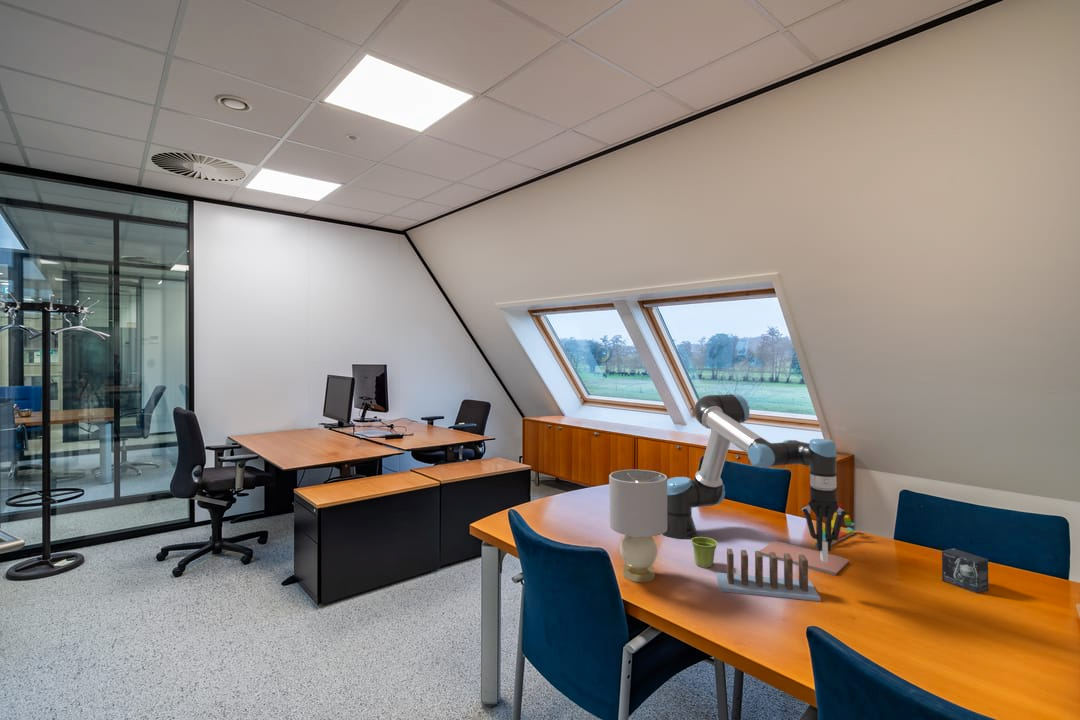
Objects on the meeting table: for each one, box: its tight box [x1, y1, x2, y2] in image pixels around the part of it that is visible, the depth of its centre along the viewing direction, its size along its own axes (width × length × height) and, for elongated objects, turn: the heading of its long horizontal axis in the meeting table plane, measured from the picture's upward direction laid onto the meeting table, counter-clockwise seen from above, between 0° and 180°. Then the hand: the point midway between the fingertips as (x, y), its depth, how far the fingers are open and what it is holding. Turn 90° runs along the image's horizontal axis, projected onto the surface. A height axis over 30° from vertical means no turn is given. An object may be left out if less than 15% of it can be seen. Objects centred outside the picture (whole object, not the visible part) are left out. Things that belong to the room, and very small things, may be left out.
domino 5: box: [783, 553, 794, 590], centre depth 167 cm, size 2×5×10 cm, turn 166°
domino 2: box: [740, 549, 749, 586], centre depth 171 cm, size 2×5×10 cm, turn 166°
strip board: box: [715, 572, 821, 602], centre depth 169 cm, size 30×12×1 cm, turn 76°
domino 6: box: [798, 554, 809, 592], centre depth 166 cm, size 2×5×10 cm, turn 166°
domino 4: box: [768, 552, 779, 589], centre depth 168 cm, size 2×5×10 cm, turn 166°
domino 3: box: [754, 550, 764, 587], centre depth 169 cm, size 2×5×10 cm, turn 166°
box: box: [941, 548, 990, 594], centre depth 169 cm, size 11×7×10 cm, turn 23°
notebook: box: [759, 540, 850, 576], centre depth 193 cm, size 27×17×2 cm, turn 44°
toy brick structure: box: [814, 502, 857, 549], centre depth 212 cm, size 30×3×15 cm, turn 127°
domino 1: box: [726, 548, 735, 584], centre depth 172 cm, size 2×5×10 cm, turn 166°
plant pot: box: [690, 536, 718, 569], centre depth 188 cm, size 9×9×9 cm
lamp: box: [608, 469, 668, 583], centre depth 179 cm, size 20×20×35 cm
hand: (824, 560), depth 164 cm, fingers closed
